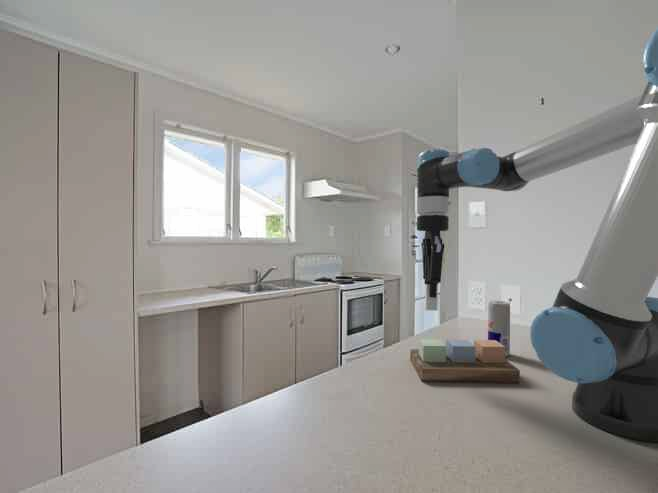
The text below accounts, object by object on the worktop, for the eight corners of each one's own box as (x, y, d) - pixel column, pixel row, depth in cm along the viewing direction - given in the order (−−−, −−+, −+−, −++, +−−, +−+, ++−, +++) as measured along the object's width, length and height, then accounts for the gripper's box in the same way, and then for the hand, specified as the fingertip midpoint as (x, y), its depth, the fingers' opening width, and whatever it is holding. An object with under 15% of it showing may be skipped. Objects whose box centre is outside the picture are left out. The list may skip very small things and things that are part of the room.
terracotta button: (505, 363, 83) (505, 346, 83) (482, 363, 83) (482, 346, 83) (495, 355, 88) (495, 340, 88) (473, 355, 89) (474, 339, 88)
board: (519, 383, 79) (519, 370, 79) (421, 381, 80) (421, 368, 80) (493, 361, 93) (493, 350, 93) (410, 360, 94) (410, 349, 94)
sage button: (445, 362, 84) (446, 346, 83) (423, 362, 84) (423, 345, 84) (439, 354, 89) (439, 339, 89) (418, 354, 89) (418, 339, 89)
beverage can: (504, 351, 101) (505, 300, 101) (513, 357, 95) (513, 303, 95) (484, 350, 101) (485, 299, 101) (491, 357, 96) (492, 303, 96)
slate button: (475, 362, 83) (475, 346, 83) (452, 362, 84) (452, 346, 83) (467, 355, 89) (467, 339, 89) (446, 355, 89) (446, 339, 89)
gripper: (456, 213, 79) (454, 316, 80) (440, 216, 92) (439, 304, 93) (423, 213, 79) (421, 315, 80) (412, 216, 92) (411, 304, 93)
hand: (431, 309), depth 86 cm, fingers closed
